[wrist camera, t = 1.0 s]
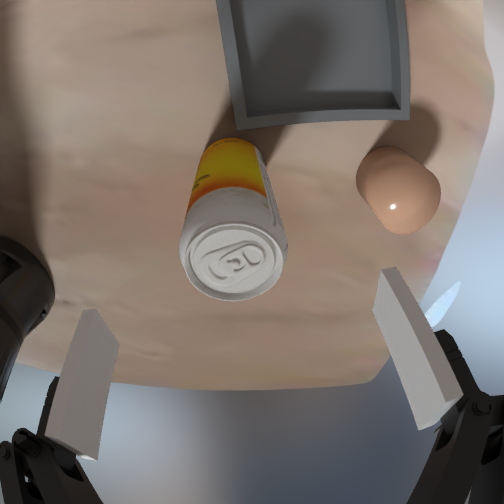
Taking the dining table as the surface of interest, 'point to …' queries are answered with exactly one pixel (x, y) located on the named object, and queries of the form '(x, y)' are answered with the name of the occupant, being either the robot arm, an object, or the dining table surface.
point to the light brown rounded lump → (398, 189)
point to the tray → (315, 60)
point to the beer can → (232, 224)
